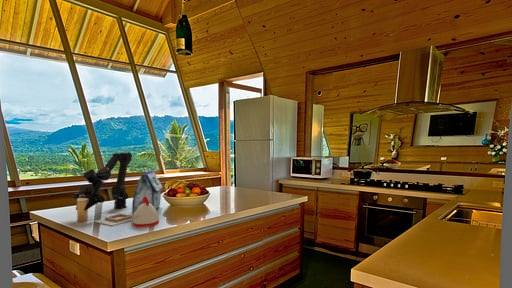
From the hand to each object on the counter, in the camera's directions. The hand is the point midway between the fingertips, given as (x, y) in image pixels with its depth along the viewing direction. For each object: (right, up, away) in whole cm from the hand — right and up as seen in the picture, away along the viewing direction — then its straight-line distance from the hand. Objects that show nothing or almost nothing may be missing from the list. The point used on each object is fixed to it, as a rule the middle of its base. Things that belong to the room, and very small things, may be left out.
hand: (80, 210), depth 165 cm
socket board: (+21, -7, +3) cm, 22 cm away
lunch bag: (+29, -7, +27) cm, 40 cm away
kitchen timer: (+39, -7, -4) cm, 40 cm away
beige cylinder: (0, -7, +1) cm, 7 cm away
